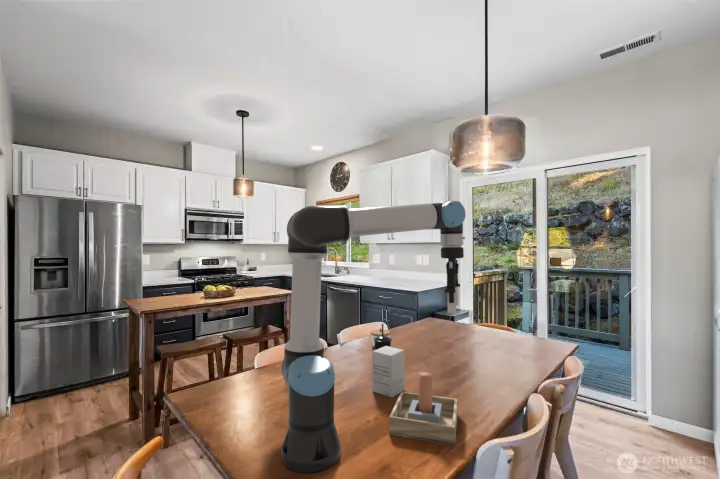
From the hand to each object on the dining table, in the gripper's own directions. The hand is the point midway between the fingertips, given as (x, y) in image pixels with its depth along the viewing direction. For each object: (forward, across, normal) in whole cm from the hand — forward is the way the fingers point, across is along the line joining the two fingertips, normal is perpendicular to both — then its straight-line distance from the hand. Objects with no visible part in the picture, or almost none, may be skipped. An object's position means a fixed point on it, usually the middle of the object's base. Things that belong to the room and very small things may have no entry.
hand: (453, 308), depth 117 cm
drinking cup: (+32, +21, +32) cm, 50 cm away
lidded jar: (+32, +56, +42) cm, 77 cm away
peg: (+31, -17, +8) cm, 36 cm away
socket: (+32, -17, +8) cm, 37 cm away
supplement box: (+32, +2, +24) cm, 40 cm away
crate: (+32, -17, +8) cm, 37 cm away
